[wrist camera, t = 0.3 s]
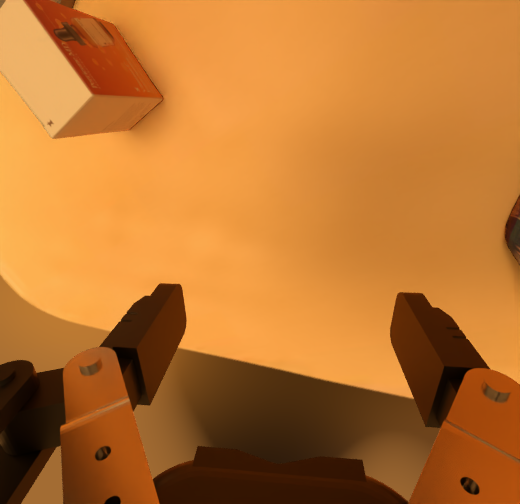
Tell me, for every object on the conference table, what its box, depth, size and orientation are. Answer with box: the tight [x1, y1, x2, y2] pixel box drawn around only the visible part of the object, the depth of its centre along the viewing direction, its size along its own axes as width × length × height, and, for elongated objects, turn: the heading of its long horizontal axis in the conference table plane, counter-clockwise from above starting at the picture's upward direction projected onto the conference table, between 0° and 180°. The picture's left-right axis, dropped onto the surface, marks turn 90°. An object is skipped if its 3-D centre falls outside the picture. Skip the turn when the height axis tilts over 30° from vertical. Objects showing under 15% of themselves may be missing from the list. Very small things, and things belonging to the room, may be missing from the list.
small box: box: [0, 0, 163, 139], centre depth 27 cm, size 8×6×10 cm
